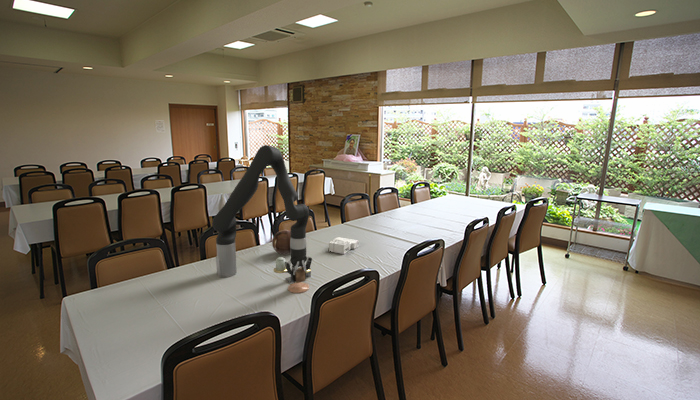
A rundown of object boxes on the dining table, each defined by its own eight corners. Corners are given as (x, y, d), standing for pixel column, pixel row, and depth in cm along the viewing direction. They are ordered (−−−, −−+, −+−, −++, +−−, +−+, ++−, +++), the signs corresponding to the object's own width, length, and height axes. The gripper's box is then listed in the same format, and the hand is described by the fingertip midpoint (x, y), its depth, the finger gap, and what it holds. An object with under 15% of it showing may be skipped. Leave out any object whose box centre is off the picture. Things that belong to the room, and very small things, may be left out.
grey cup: (278, 271, 168) (278, 261, 166) (274, 268, 171) (274, 257, 170) (287, 269, 170) (287, 259, 169) (283, 266, 174) (282, 256, 173)
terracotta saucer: (294, 295, 160) (294, 293, 160) (284, 287, 168) (284, 285, 168) (312, 289, 166) (312, 288, 166) (302, 282, 174) (302, 280, 174)
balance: (277, 287, 168) (277, 273, 166) (271, 282, 173) (271, 268, 172) (313, 277, 179) (313, 264, 178) (306, 273, 185) (306, 260, 183)
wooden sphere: (294, 248, 222) (294, 226, 219) (299, 256, 208) (299, 232, 205) (270, 251, 216) (270, 228, 213) (274, 259, 203) (274, 235, 200)
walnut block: (296, 283, 163) (296, 273, 162) (292, 279, 167) (292, 270, 166) (305, 280, 166) (305, 271, 165) (300, 277, 169) (300, 268, 168)
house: (349, 257, 209) (349, 247, 207) (322, 252, 216) (322, 243, 215) (363, 246, 229) (364, 237, 227) (338, 242, 236) (338, 233, 235)
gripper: (288, 251, 156) (288, 286, 159) (315, 245, 164) (315, 279, 168) (280, 246, 162) (281, 280, 165) (307, 241, 170) (307, 273, 173)
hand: (298, 279), depth 166 cm, fingers closed on walnut block, 4 cm apart
